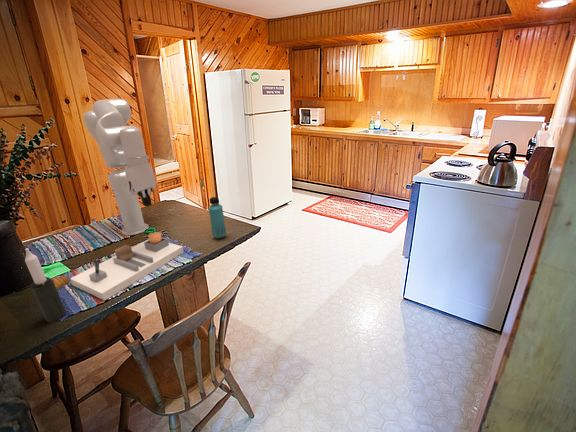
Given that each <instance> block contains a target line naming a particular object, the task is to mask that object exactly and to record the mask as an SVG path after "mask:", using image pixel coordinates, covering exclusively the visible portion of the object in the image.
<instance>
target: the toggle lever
mask: <svg viewBox="0 0 576 432" xmlns="http://www.w3.org/2000/svg"><path fill="white" fill-rule="evenodd" d="M93 263H94V266H95V273H96V274H98V273H99V264H100V263H101V259H100V258H94V260H93Z"/></svg>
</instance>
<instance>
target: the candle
mask: <svg viewBox="0 0 576 432" xmlns="http://www.w3.org/2000/svg"><path fill="white" fill-rule="evenodd" d="M24 251H25V259H24V262H25V264H26V266H27V269H28V271H29V273H30V275H31V278H32V280H33V282H32V283H30V285H29V287H30V289H31V291H32V294H33V296H34V298H35V300H36V303H37V305H38V307H39V309H40V311H41V313H42V315H43V318H44V320H45V321H46V322H48V323H49V324H50V323H54V322H55V321H57V320H59V319H61V318H64V317H65V316H67V311H66V309H65V306H64V303H63V302H62V299H61V296H60V294H59V291H58V290H57V289H56V286H55V284H54V282H53V280H51V279H50V278H51V277H49V276H46V275H45V272H44V270H43V267H42V265H41V262H40V260H39V258H38V256H37V255H35V254H33V253H32V252H31V250H30V248H28V247H26V248H25V249H24Z"/></svg>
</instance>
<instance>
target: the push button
mask: <svg viewBox="0 0 576 432" xmlns="http://www.w3.org/2000/svg"><path fill="white" fill-rule="evenodd" d="M147 237H148V239H149V241H150V244H153V245H156V244H158V243H160V242H162V238H163V237H162V233H161V232H158V231H157V232H152V233H150V234H148V235H147Z"/></svg>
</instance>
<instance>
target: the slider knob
mask: <svg viewBox="0 0 576 432" xmlns="http://www.w3.org/2000/svg"><path fill="white" fill-rule="evenodd" d="M131 248H132V246H131V245H129V244H124V245H122V246H120V247H118V248H116V249H115V250H114V253H115V256H116V257H117V258H118V259H121V260H123V261H127V260H129V259H131V258H133V257H134V256H133V253H132V249H131Z"/></svg>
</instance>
